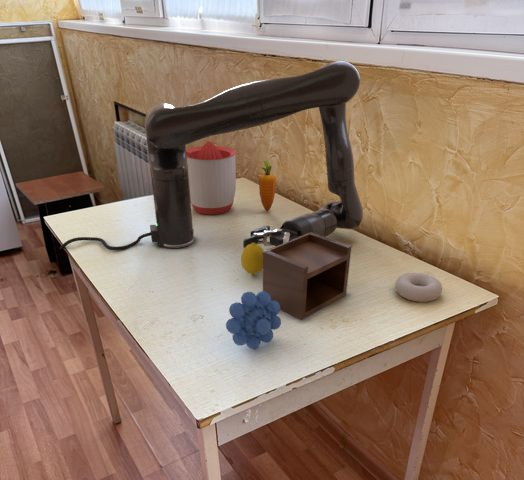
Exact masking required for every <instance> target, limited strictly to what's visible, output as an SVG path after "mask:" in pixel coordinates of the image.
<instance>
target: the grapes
mask: <svg viewBox="0 0 524 480" xmlns="http://www.w3.org/2000/svg"><path fill="white" fill-rule="evenodd" d="M240 301H241V302H237V301H235V302H234V303H232V304H231V305H230V306H229V308H228V310H229V311H228V313H229V315H230V316H231V318H228V319H227V321H226V323H225V328H226V330H227V332H228V333H230V334H232V340H233V342H234V344H235V345H237V346H240V347H241V346H245V345H246V346H247V347H248V348H250V349H252V350H253V349H258V347H260V345H261V343H269V342H272V341H273V339H274V332H273V331H276V330H278V329H279V328H281V325H282V319H281V317H280V316H278V315H279V314H280V312H281V310H280V305H279V303H278V302H277V301H274V300H271V296H270V294H269V293H268V292H266V291H263V290H262V291H259V292H257V294H256V293H254V292H252V291H246V292H244V293H243V294H242V295H241V297H240Z"/></svg>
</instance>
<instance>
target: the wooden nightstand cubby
mask: <svg viewBox="0 0 524 480" xmlns="http://www.w3.org/2000/svg"><path fill="white" fill-rule="evenodd" d="M351 255H352V245H350V244H346V243H344V242H342V241H338V240H335V239H332V238H329V237H328V236H326V237H324V236H321V235H318V234H315V233H312V232H310V233H308V234H305V235H303V236H300V237H298V238H295V239H293V240H290V241H288V242H285V243H283V244H281V245H278V246H273V247H270V248H269V249H265V250H263V269H262V291H266V292H268V293H269V294H270V296H271V300H274V301H277V302H278V303H279V305H280V312H283V313H285V314H287V315H289V316H291V317H294V318H295V319H298V320H300V321H303V320H305V319H306V318H308V317H310V316H311V315H313V314H315V313H317V312H319V311H320V310H322V309H324V308H326V307H328V306H329V305H331V304H334V303H335V302H337V301H338V300H340V299H342V298H344V297H346V296H347V289H348V280H349V273H350V263H351V257H352V256H351Z"/></svg>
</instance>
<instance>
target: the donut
mask: <svg viewBox="0 0 524 480" xmlns="http://www.w3.org/2000/svg"><path fill="white" fill-rule="evenodd" d="M394 285H395V286H394V287H395V291H396V292H397V294H398V295H399V296H401V297H402V298H404V299H406V300H409V301H413V302H419V303H429V302H433V301H434V300H436V299H438V298H439V297H440V296H441V294H442V292H443V285H442V283H441V282H440V280H439V279H438V278H436V277H435V276H433V275H430V274H428V273H423V272H407V273H404V274H402V275H400V276H399V277H398V278H397V279H396V281H395V284H394Z"/></svg>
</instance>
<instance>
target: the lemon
mask: <svg viewBox="0 0 524 480" xmlns="http://www.w3.org/2000/svg"><path fill="white" fill-rule="evenodd" d="M263 251H264V248H263V247H262V246H260V244H255V243H252V244H249V245H247V246H246V247H245V248H244V247H243V250H242V253H241V259H240V261H241V265H242V268H243V270H244V271H245V272H246V273H248V274H250V275H251V276H255V275H257V274H259V273H260V272H262V271H263Z"/></svg>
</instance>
